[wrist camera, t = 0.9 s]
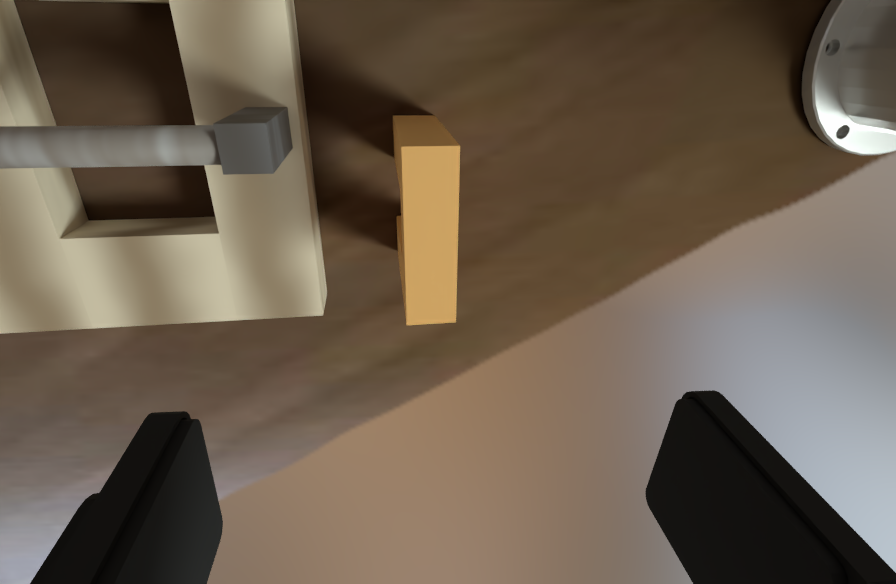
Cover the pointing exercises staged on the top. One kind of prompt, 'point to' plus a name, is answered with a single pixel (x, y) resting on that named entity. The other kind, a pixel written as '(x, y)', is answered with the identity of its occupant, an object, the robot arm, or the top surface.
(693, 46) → the top surface
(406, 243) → the tan wooden block
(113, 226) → the square frame with handle
